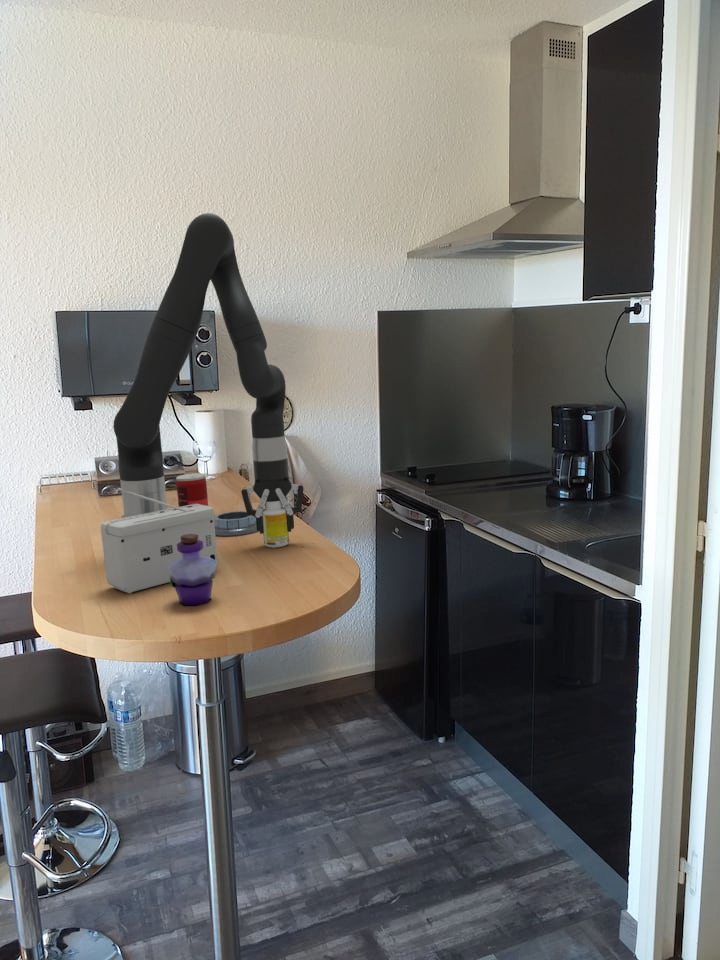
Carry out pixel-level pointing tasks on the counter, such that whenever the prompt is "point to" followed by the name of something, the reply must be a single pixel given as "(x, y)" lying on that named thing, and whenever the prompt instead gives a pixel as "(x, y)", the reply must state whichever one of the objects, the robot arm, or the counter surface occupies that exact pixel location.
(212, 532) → the stereo radio cassette player
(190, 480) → the canned food
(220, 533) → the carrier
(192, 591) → the potion bottle
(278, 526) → the supplement bottle
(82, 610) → the counter surface
